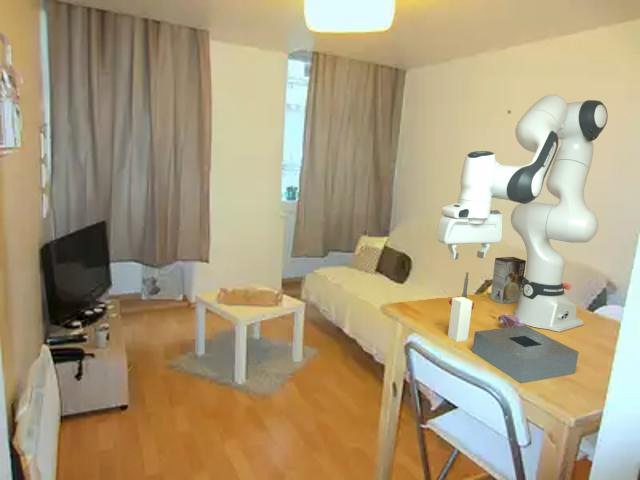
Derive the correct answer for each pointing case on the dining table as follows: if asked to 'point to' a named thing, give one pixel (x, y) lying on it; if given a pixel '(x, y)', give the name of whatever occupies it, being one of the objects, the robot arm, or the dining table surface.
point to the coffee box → (507, 279)
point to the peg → (460, 319)
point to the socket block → (525, 353)
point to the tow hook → (464, 290)
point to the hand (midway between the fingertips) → (467, 258)
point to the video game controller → (510, 321)
